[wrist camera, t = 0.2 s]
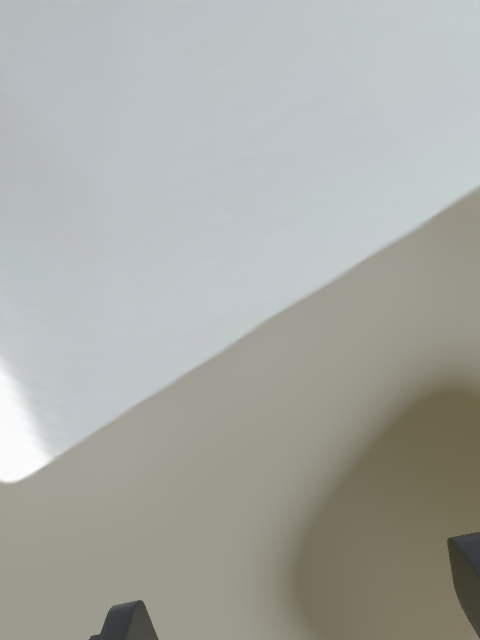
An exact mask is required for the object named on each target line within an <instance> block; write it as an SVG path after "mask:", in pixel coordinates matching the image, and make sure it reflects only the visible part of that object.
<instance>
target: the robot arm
mask: <svg viewBox="0 0 480 640" xmlns="http://www.w3.org/2000/svg"><path fill="white" fill-rule="evenodd" d="M447 543H448V550H449V557H450V564H451V570H452V577H453V583H454V588H455V591H456V594H457V597H458V599H459V602H460V604H461V607H462V609H463V610H464V612H465V614H466V616H467V618H468V620H469V621H470V623H471V625H472V626H473V628H474V630H475V631H476V633H477V635H478V636H479V638H480V533H479V532H476V533H471V534H466V535H461V536H456V537H451V538H448V541H447ZM89 640H158V638H157V635H156V632H155V630H154V628H153V625H152V622H151V620H150V617H149V614H148V612H147V610H146V607H145V604H144V603H143V601H141V600H139V601H134V602H129V603H124V604H119V605H114V606H112V608H110V610H109V612H108V614H107V617H106V620H105V622H104V625H103V628H102V631H101V634H99V635H94V636H91V637H90V639H89Z"/></svg>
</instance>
